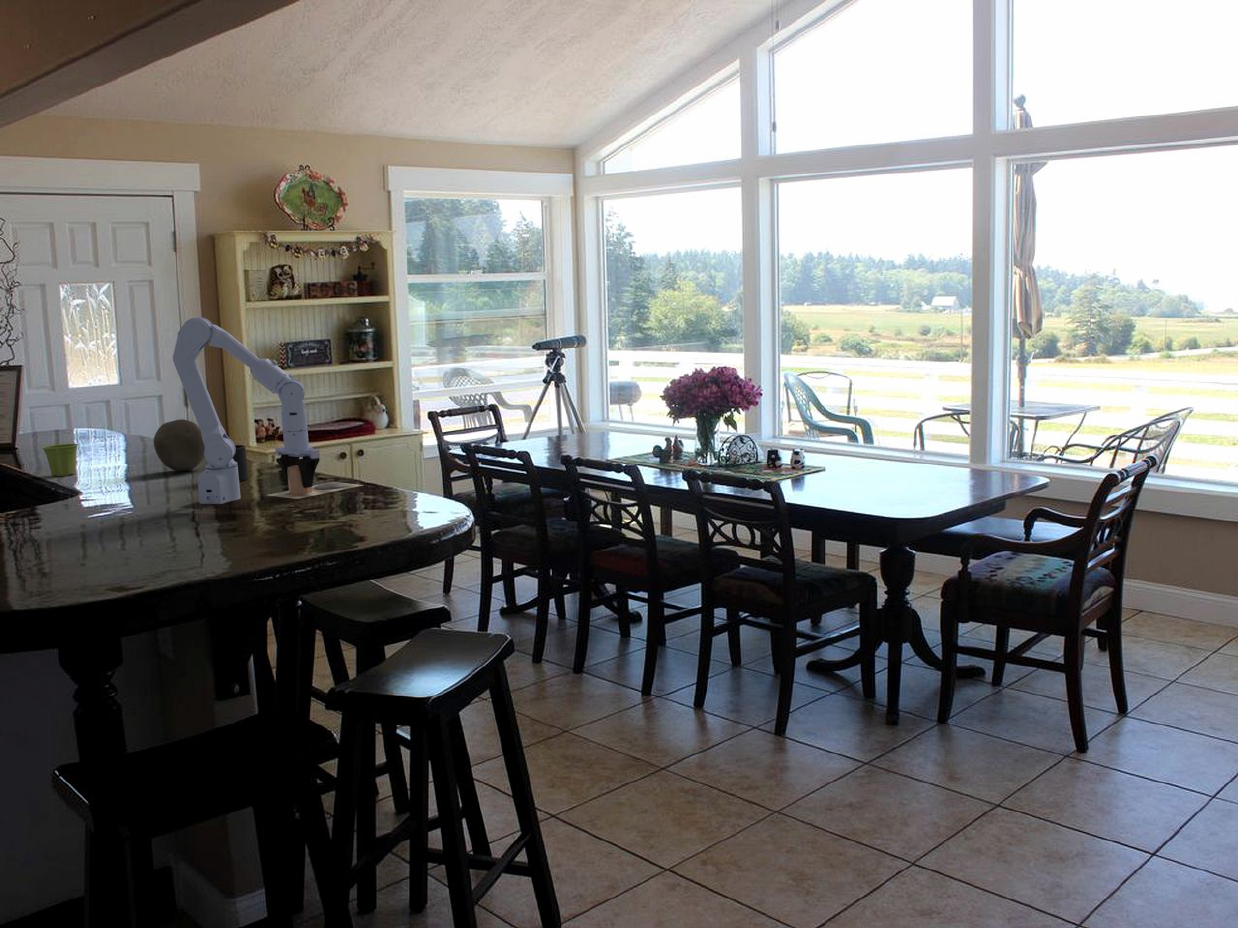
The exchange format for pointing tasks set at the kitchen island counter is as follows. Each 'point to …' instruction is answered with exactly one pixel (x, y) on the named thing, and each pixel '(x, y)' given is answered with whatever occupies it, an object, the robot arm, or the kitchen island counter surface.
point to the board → (318, 490)
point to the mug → (241, 462)
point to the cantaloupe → (179, 445)
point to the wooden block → (296, 482)
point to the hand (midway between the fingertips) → (300, 486)
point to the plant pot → (61, 459)
